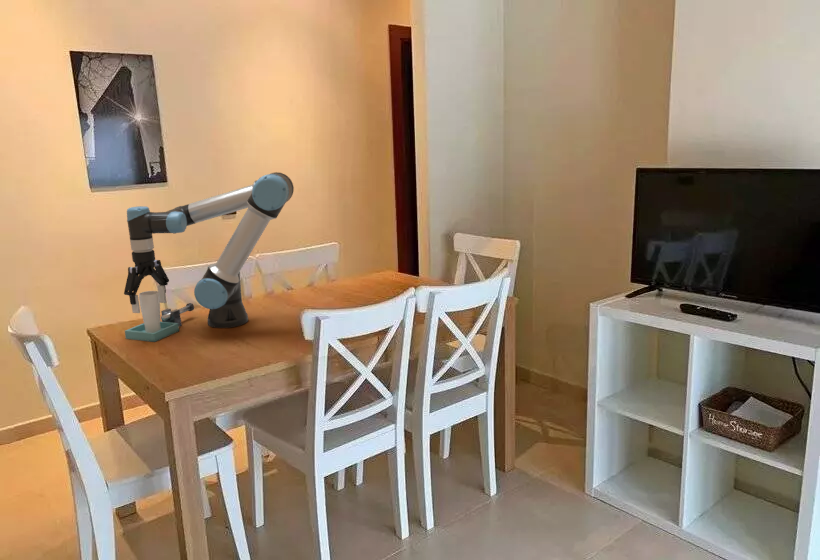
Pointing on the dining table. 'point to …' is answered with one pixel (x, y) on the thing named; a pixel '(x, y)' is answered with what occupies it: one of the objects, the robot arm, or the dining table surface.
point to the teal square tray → (140, 333)
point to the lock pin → (187, 308)
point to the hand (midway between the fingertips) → (150, 307)
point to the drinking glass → (150, 310)
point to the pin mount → (172, 316)
